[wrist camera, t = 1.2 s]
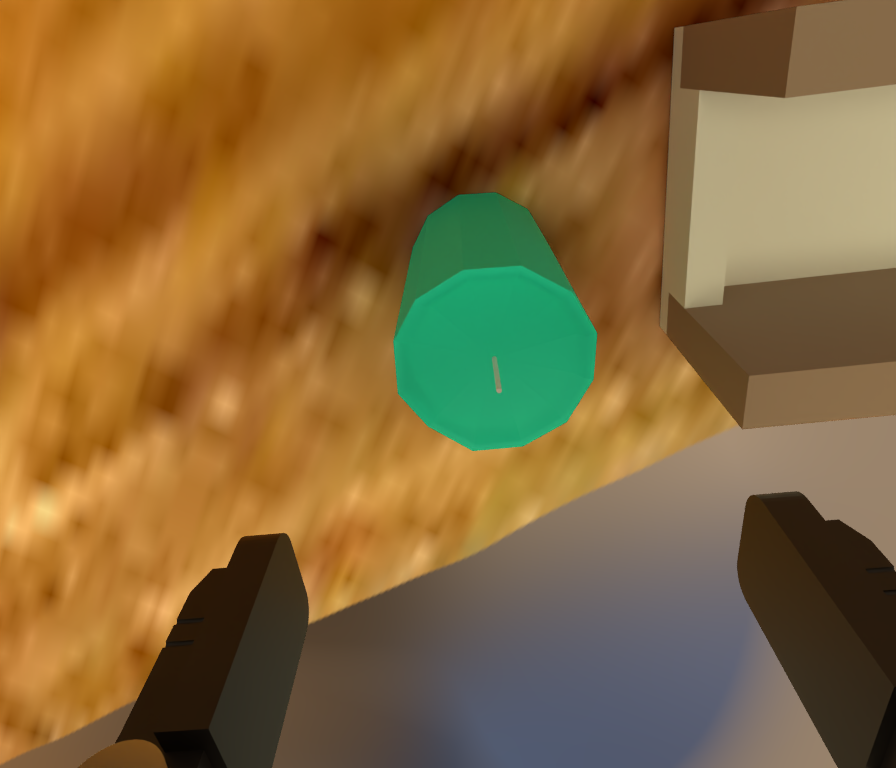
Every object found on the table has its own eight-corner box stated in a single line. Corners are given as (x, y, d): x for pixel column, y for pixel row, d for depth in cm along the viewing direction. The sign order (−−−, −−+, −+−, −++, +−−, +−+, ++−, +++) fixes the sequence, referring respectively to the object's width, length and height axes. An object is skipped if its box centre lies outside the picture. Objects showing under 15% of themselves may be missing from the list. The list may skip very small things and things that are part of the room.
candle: (475, 159, 25) (494, 230, 14) (576, 255, 27) (660, 381, 16) (384, 266, 27) (340, 399, 16) (483, 348, 29) (502, 515, 18)
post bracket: (674, 27, 22) (796, 6, 14) (1013, -18, 22) (1337, -66, 14) (659, 325, 28) (742, 429, 20) (929, 298, 27) (1125, 393, 19)
